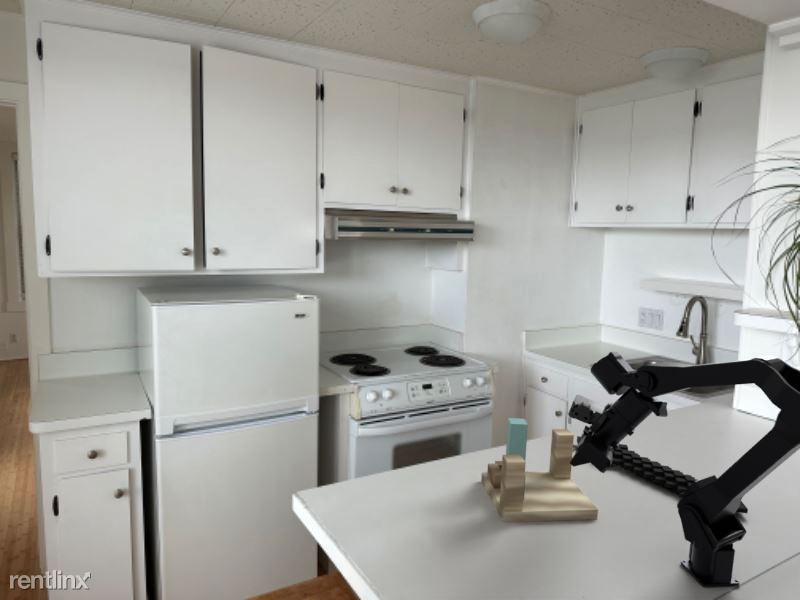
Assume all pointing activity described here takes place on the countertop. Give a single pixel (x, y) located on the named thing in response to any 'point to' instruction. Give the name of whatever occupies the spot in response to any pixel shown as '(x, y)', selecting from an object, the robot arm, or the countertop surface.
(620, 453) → the black segmented strip
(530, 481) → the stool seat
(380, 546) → the countertop surface
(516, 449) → the folding leg
